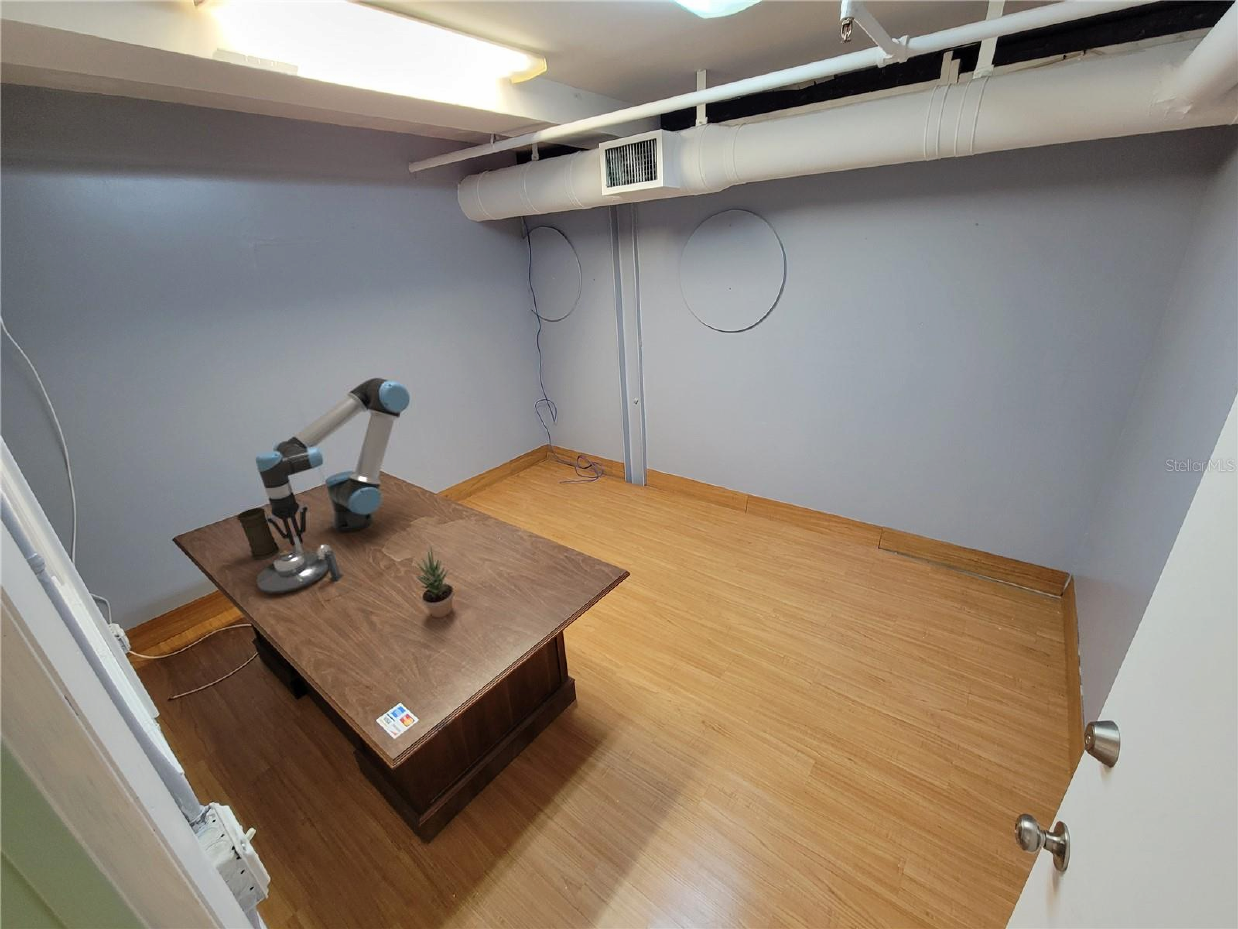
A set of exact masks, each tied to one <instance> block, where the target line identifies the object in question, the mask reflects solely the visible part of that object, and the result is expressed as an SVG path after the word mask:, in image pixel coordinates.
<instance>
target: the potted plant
mask: <svg viewBox="0 0 1238 929" xmlns="http://www.w3.org/2000/svg"><path fill="white" fill-rule="evenodd" d="M429 547H430V552H429V551H427V556H428V557H427V558H428V562H426V560H425V559H424V558H423V557H421V560H422V562H423V565H424V567H423V566H421V565H420V564H419V562H416V564H417V567H418V568H419V569H420V571H421V572H422V573H423V575H422V576H420V575H418V574H417V575H415V579H418V581H419V582H420V583H422V584H423V585H420V587H421V588H423V589H425V590H424V591H423V592H422V593H421V601H422V603H423V605H425V606H426V608H428V611H429V612H430V614H431V615H432V617H434V618H443V617H446V616H448V615H449V614H450V613H451V612H452V609H453V598H454V596H455V590H454V587H453V586H452V585H451V584H448V583H447V582H445V581H444V580H445V578H446V576H447V574H448V572H449V569H448V570H446V572H445V573H444V571H445V568H446V567H445V566H443V568H442V570H441V571H440V569H441V565H442V560H439V559H437V561H436V564H435V560H434V553H433V549H432V546H431V544H429ZM424 585H425V586H424Z"/></svg>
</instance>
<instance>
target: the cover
mask: <svg viewBox="0 0 1238 929" xmlns="http://www.w3.org/2000/svg"><path fill="white" fill-rule="evenodd" d="M303 553H304V552H301V551H297V550H294V551H293V550H292V551H288V552H287V553H285V554H282V555H281V554H280V555H279V556H277V557H276V558H275V559H274V560H273V563H274V566H275V569H276V571H277V574H278V576H279V577H283V578H286V577H292V576H295V575H297V574H299V573H301V572H303V571H304V570H305V569H306V568H307V563H306V561H305V558H304V555H303ZM273 563H272V564H273Z"/></svg>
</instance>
